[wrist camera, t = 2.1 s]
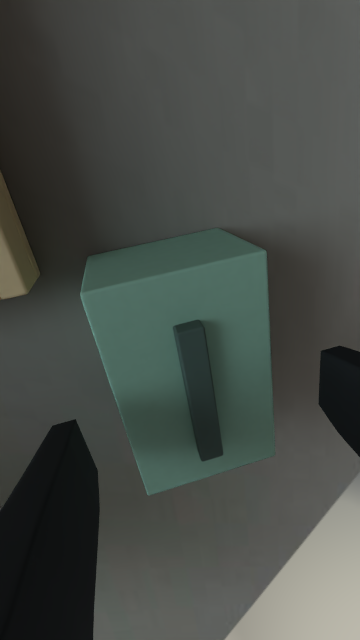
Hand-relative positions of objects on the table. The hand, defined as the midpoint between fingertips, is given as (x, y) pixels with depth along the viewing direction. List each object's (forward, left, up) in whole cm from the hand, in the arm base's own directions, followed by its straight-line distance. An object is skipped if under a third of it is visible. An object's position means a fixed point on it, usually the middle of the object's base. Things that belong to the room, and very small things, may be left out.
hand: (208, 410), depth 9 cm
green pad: (0, 0, -5) cm, 5 cm away
